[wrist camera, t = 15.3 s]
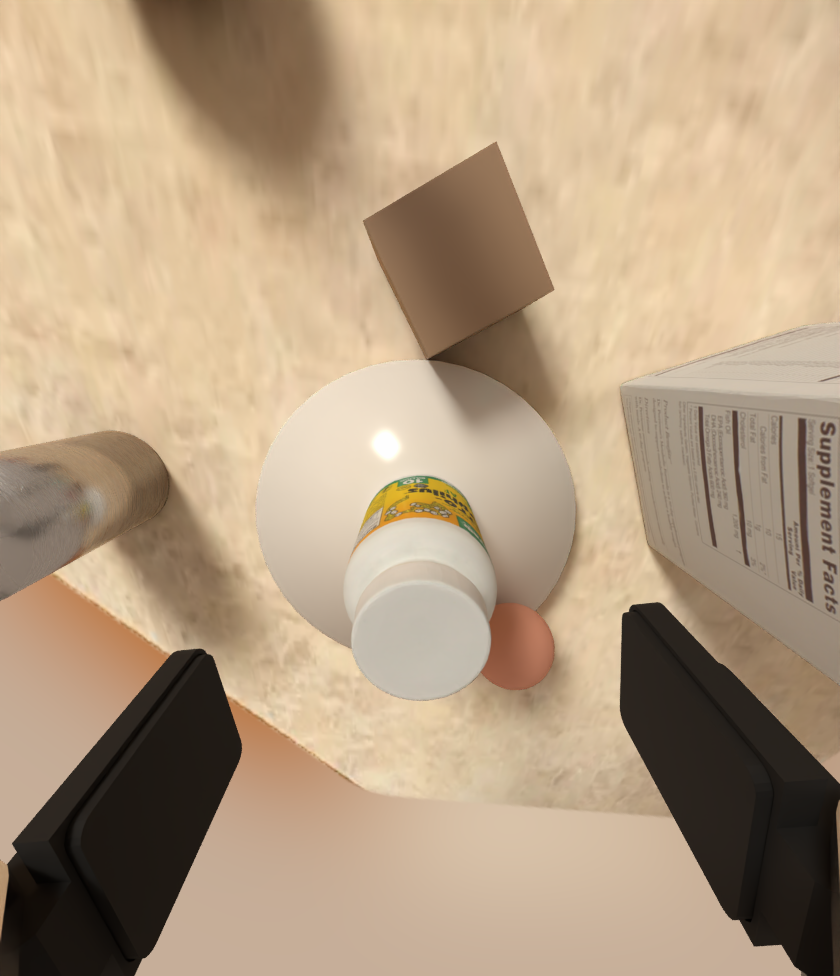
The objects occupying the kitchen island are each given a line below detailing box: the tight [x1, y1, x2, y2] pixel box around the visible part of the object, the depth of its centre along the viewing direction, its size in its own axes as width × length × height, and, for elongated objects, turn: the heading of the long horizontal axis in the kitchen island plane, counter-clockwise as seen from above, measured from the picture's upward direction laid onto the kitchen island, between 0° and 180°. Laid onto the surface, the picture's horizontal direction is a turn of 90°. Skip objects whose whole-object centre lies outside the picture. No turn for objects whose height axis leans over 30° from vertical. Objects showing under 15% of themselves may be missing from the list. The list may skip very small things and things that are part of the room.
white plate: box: [256, 359, 576, 649], centre depth 22 cm, size 16×16×1 cm
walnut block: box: [363, 142, 554, 360], centre depth 17 cm, size 5×5×5 cm
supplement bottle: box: [343, 474, 497, 701], centre depth 16 cm, size 5×5×10 cm
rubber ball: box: [481, 603, 554, 690], centre depth 21 cm, size 4×4×4 cm
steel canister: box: [0, 431, 169, 601], centre depth 18 cm, size 5×5×8 cm
